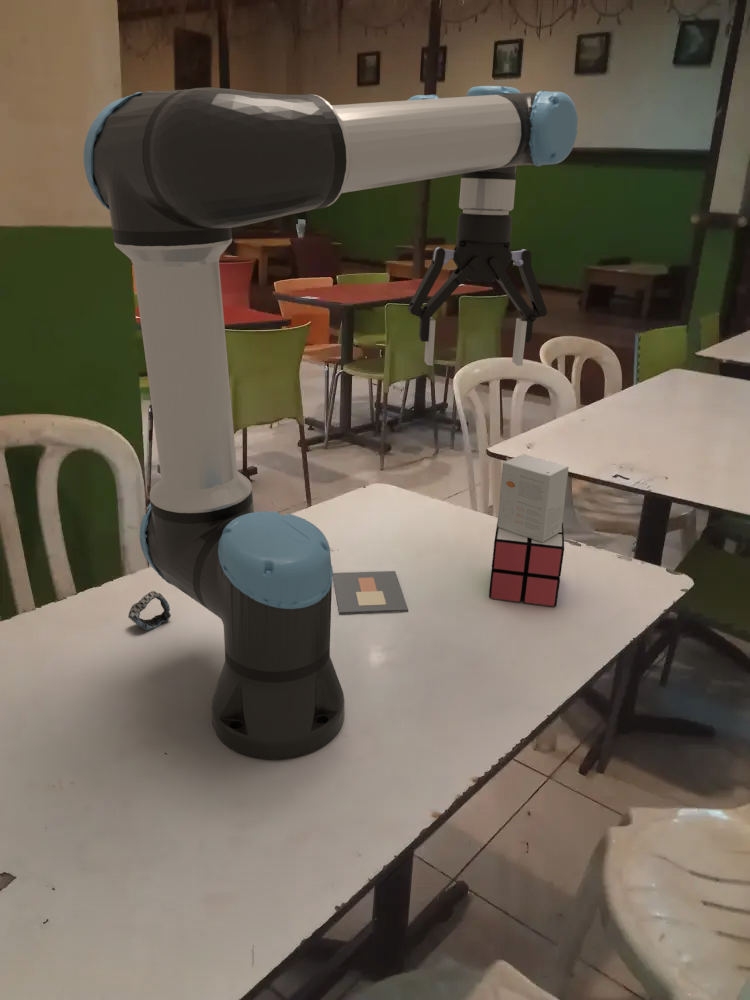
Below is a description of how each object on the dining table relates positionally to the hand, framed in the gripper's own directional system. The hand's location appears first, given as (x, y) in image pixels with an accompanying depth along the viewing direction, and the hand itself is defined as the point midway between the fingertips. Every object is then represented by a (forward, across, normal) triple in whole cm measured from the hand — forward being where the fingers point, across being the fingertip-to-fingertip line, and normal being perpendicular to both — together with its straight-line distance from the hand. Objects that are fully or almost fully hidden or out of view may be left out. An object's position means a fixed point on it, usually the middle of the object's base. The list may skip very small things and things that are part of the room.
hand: (473, 363), depth 117 cm
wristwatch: (+33, +47, +17) cm, 60 cm away
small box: (+23, -8, +10) cm, 26 cm away
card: (+33, +16, +10) cm, 38 cm away
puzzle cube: (+33, -8, +10) cm, 35 cm away
